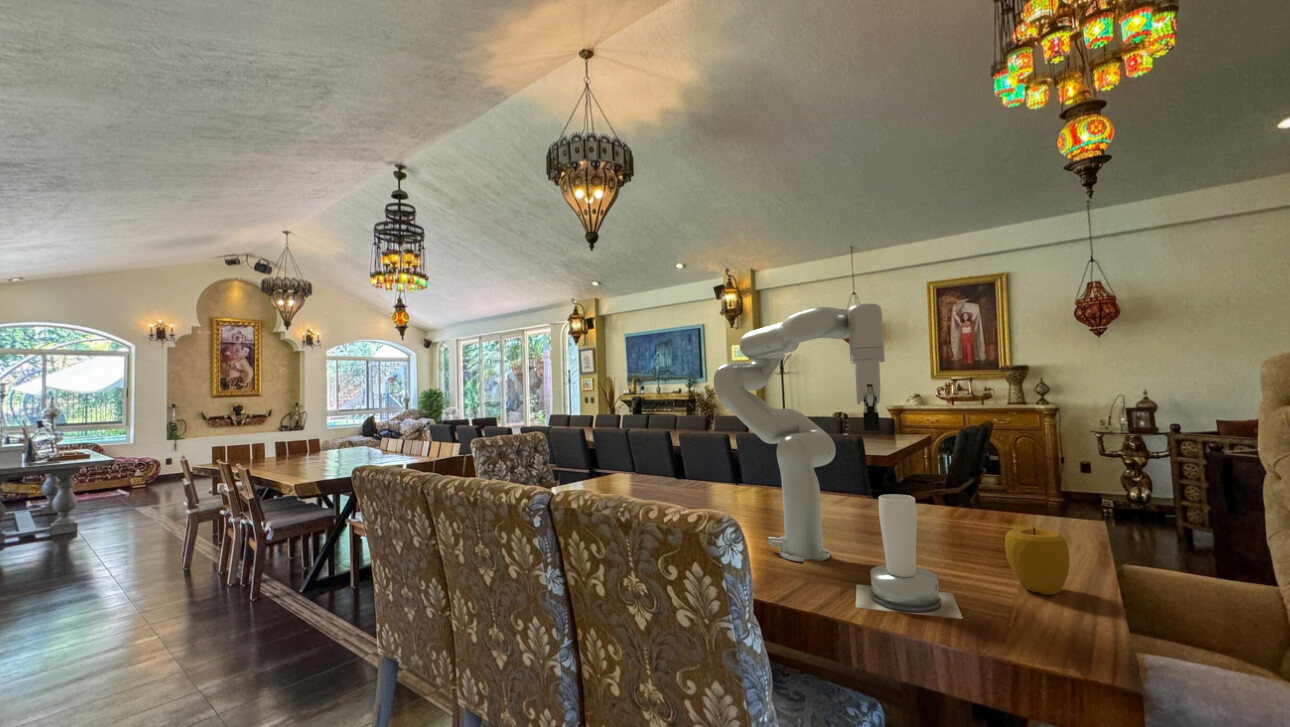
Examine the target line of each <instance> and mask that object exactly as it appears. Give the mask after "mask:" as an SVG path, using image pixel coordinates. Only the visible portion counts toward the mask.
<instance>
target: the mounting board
mask: <svg viewBox="0 0 1290 727" xmlns="http://www.w3.org/2000/svg"><path fill="white" fill-rule="evenodd" d="M871 590H872V587H871V585H868V584H867V585H866V584H858V583H857V584H856V591H855V593H856V594H855V608H857V609H867V610H876V611H883V612H892V613H895V612H896V613H902V614H903V613H904V614H910V613H909V612H901V611H896V610H892V609H888V608H885V607H882V606H880V605H878V604H876V603H875V602H874V601H873V600H872V599H871V596H870V591H871ZM939 597H940V599H941V607H940V608H939V609H938V610H936V611H932V612H927V613H911V615H912V614H913V615H914V614H915V615H921V616H922V615H924V616H931V617H932V616H933V617H942V618H950V619H951V618H952V619H962V620H963V619H964V618H963V616H962V613H961V611H960V608H959V606H958V604H957V601H956V599H955V596H954V594H953V592H945V591H939Z"/></svg>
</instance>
